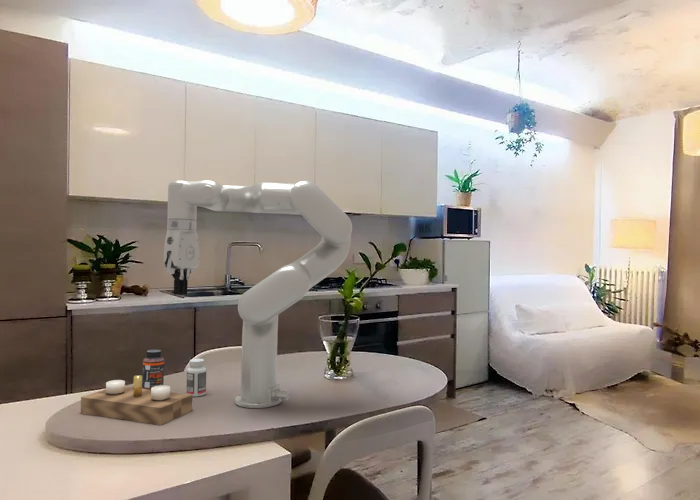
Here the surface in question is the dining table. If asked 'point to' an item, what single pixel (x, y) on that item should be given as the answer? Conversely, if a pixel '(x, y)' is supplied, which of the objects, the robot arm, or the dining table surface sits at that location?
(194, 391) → the pill bottle
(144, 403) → the mount
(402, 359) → the dining table surface
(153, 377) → the supplement bottle
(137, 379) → the brass stem
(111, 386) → the knob far
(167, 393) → the knob near
